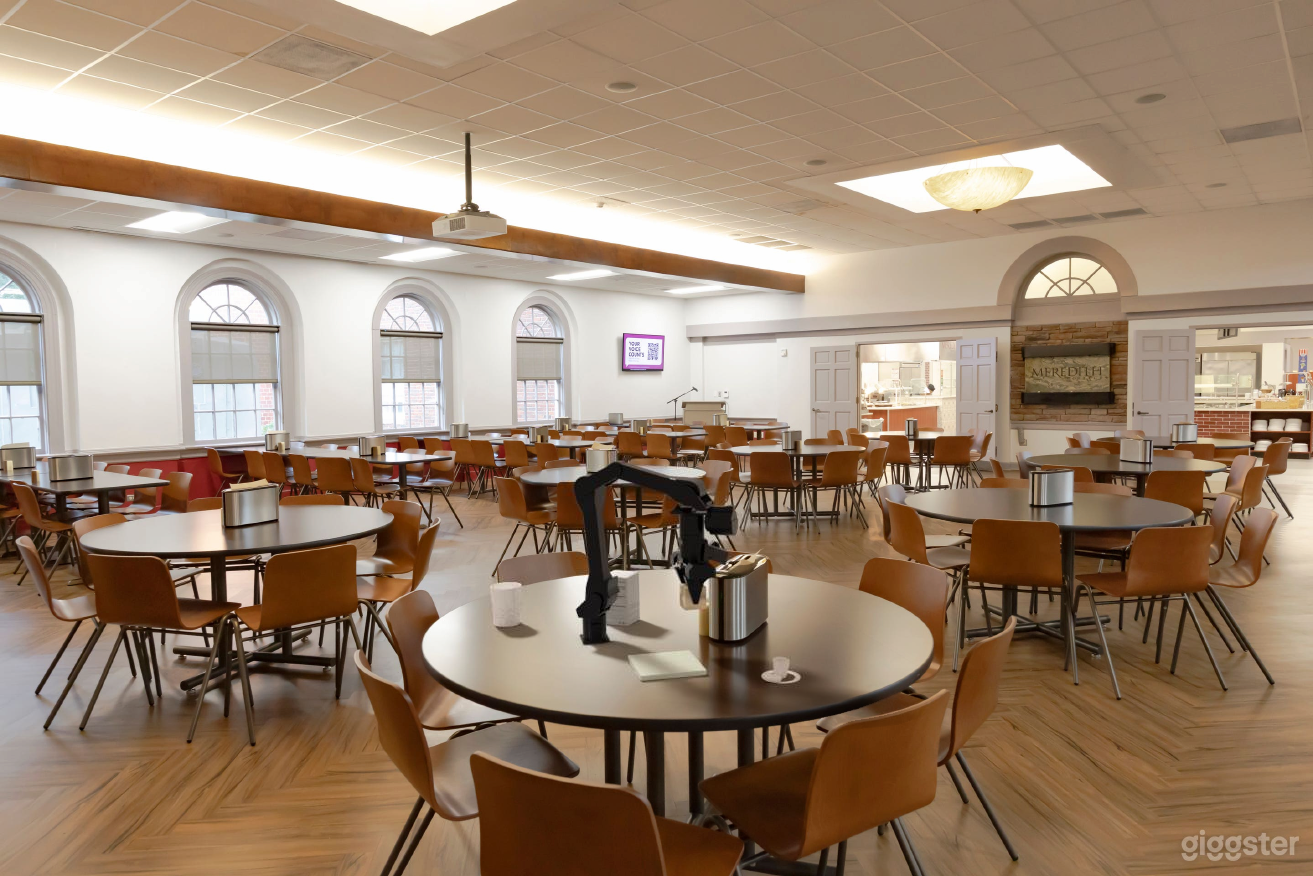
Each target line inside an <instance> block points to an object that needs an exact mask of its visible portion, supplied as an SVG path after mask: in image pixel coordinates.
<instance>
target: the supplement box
mask: <svg viewBox="0 0 1313 876" xmlns="http://www.w3.org/2000/svg"><path fill="white" fill-rule="evenodd" d="M610 573H611V575H612V577H614V576H618V588H619V590H620V592H619V593H618V597H617V600H616V601H615V602H614V603H613V604H612V605H611V608H610V610H609V611H607V612H605V613H606V625H612V626H622V627H629V626H630V625H633V623H636V622H637V621H638V620H640V619H641V617H640V616H641V613H640V612H641V611H640V609H641V608H640V607H641V606H640V573H639V571H635V570H634V571H632V570H619V569H613V570H612V571H610Z"/></svg>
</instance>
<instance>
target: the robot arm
mask: <svg viewBox="0 0 1313 876" xmlns="http://www.w3.org/2000/svg"><path fill="white" fill-rule="evenodd" d="M618 480H620V481H625V482H627V483H631V484H634V485H637V486H640V487H644V488H647V489H650V490H654V491H657V492H659V493H662V494H664V495H666V496H667V497H669V498H670V499H671V500H673V501H675V502H677V503H676V504H675V506H674V508H672V510H670V511H669V513H670V515H679V516H678V518H679V519H678V522H679V524H678V525H679V526H678V529H679V531H678V532H679V534H678V535H679V536H678V537H676V539H677V541H676V542H677V543H679V550H676V551H673V552H672V553H671V554H670V556H669V557H670V559H669V561H670V564H671V565H672V566H674V567H673V569H674V570H675V574H676V575H677V578H678V581H679V582H680V584H681V583H686V585H687V588H688V591H689V594H690V596H691V599H692V602H693V604H694V605H696V604H698V603H699V599H700V596H701V592H702V588H703V585H704V586H705V582H707V581H708V580H709V579H715V578H717V568H716V567H715V566H714V565H713V564H711V563H710V560H711V561H713V562H716V563H719V564H720V565H721V566H722V565H723V566H727V563H728V559H729V556H730V554H731V552H730V551H728V550H727V549H725V548H723V547H721V546H720V543H719V542H718V541H715V540H713V539H712V540H710V542H709V540H708V539H707V538H705V531H706V532H708V533H709V534H710V536H733V537H735V536H737V533H738V529H739V518H738V515H737V511H736V505H734V504H728V505H717V504H716V503H715V501H714V500H713V499H712V498H711V496H710V494H709V493H708V491H707V487H706V485H705V482H704V481H703V480H702V479H700V478H699V477H698V478H696V477H688V476H674V475H668V474H664V473H661V472H659V471H658V472H657V471H654V470H651V469H648V468H645V467H641V466H638V465H634V464H631V463H628V462H626V461H625V460H615V461H613V462H610V463H609V464H608V465H606V466H605V467H603V468H601V469H599V470H598V471H595V472H594V473H591V474H586V475H582V476H579V477H578V478H577V479H575V481H574V482H573V485H572V491H573V494H574V498H575V502H576V504H577V506H578V507H579V510H580V511H581V513H582V517H583V518H582V519H583V526H584V527H583V528H584V536H585V537H584V538H585V544H586V545H585V546H586V547H585V548H586V553H587V557H586V558H587V565H588V566H587V567H588V575H587V579H586V584H585V593H584V594H585V595H584V600H583V601H582V602H581V603H580V604H579V605H578V606H577V608H575V612H576V615H577V617H578V619H582V620H581V621H582V633H581V634H579V638H580V640H581V642H582V644H585V645H586V644H597V643H598V644H599V643H609V642H611V639H610V637H609V635H608V632H607V624H606V613H605V612H607V611H609V610H610V608H611V605H612V604H613V603H614V602H615V601H616V600H617V597H618V593H619V592H620V590H619V588H618V576H614V577H612V575H611V573H610V572H611V571H610V569H609V564H608V563H609V562H608V552H607V545H606V544H607V543H606V535H605V534H606V533H605V525H604V516H603V515H604V514H603V509H604V506H605V501H606V497H607V495H606V494H607V488H608V487H610V486H612V485H613V484H614V483H616V482H617V481H618ZM676 564H677V566H676Z"/></svg>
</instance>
